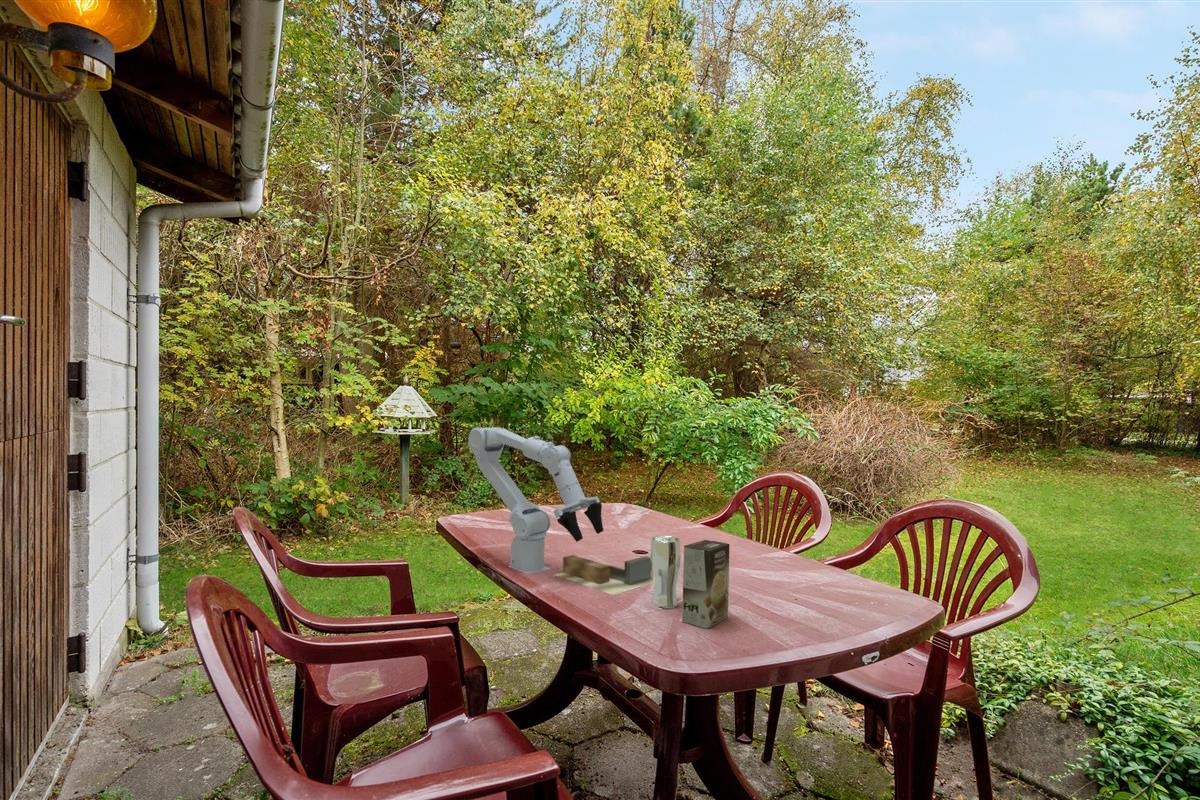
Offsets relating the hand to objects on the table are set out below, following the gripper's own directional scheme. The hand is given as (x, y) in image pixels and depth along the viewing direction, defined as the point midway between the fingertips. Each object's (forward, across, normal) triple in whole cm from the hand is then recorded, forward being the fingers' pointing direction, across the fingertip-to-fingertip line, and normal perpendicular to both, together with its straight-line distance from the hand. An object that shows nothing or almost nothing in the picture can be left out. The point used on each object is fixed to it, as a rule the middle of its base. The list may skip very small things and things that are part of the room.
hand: (590, 536), depth 149 cm
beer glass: (+22, 0, -14) cm, 26 cm away
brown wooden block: (+8, 0, +8) cm, 12 cm away
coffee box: (+28, -2, -25) cm, 37 cm away
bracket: (+13, +7, +2) cm, 15 cm away
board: (+11, +4, +5) cm, 13 cm away
